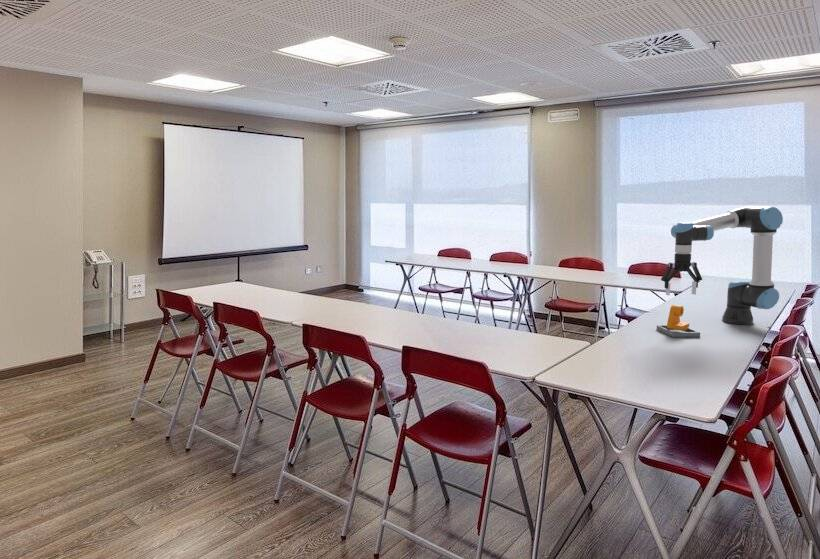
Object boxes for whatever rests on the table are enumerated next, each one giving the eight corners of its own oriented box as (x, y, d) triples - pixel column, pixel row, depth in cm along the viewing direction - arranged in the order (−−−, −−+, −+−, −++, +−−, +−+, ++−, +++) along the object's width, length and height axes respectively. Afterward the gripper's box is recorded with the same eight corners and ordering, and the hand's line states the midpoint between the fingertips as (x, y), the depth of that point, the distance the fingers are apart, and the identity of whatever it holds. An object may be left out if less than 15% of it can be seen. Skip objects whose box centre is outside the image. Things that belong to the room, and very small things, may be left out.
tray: (682, 329, 301) (682, 324, 301) (700, 337, 285) (700, 332, 284) (656, 329, 301) (656, 325, 300) (672, 337, 284) (673, 333, 284)
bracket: (681, 331, 286) (682, 308, 284) (666, 329, 291) (668, 306, 290) (689, 328, 293) (691, 305, 292) (675, 325, 299) (676, 303, 297)
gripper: (702, 251, 291) (700, 292, 294) (655, 252, 290) (653, 293, 293) (711, 253, 283) (708, 295, 287) (662, 254, 282) (660, 296, 285)
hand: (680, 294), depth 290 cm, fingers open, 13 cm apart
